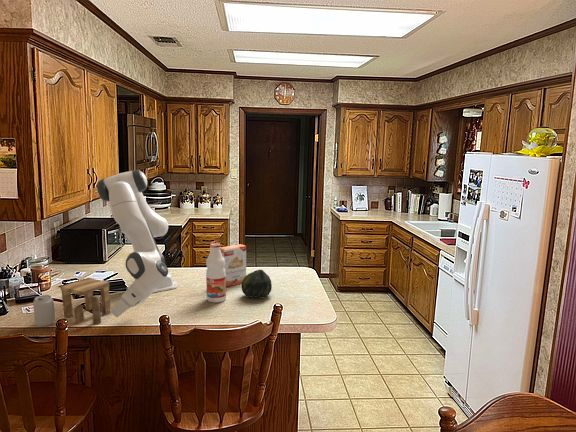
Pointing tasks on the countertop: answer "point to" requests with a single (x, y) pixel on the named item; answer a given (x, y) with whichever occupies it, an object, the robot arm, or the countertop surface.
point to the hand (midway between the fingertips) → (117, 312)
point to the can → (44, 310)
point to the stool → (85, 289)
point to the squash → (256, 284)
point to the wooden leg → (96, 309)
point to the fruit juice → (215, 275)
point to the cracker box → (234, 263)
